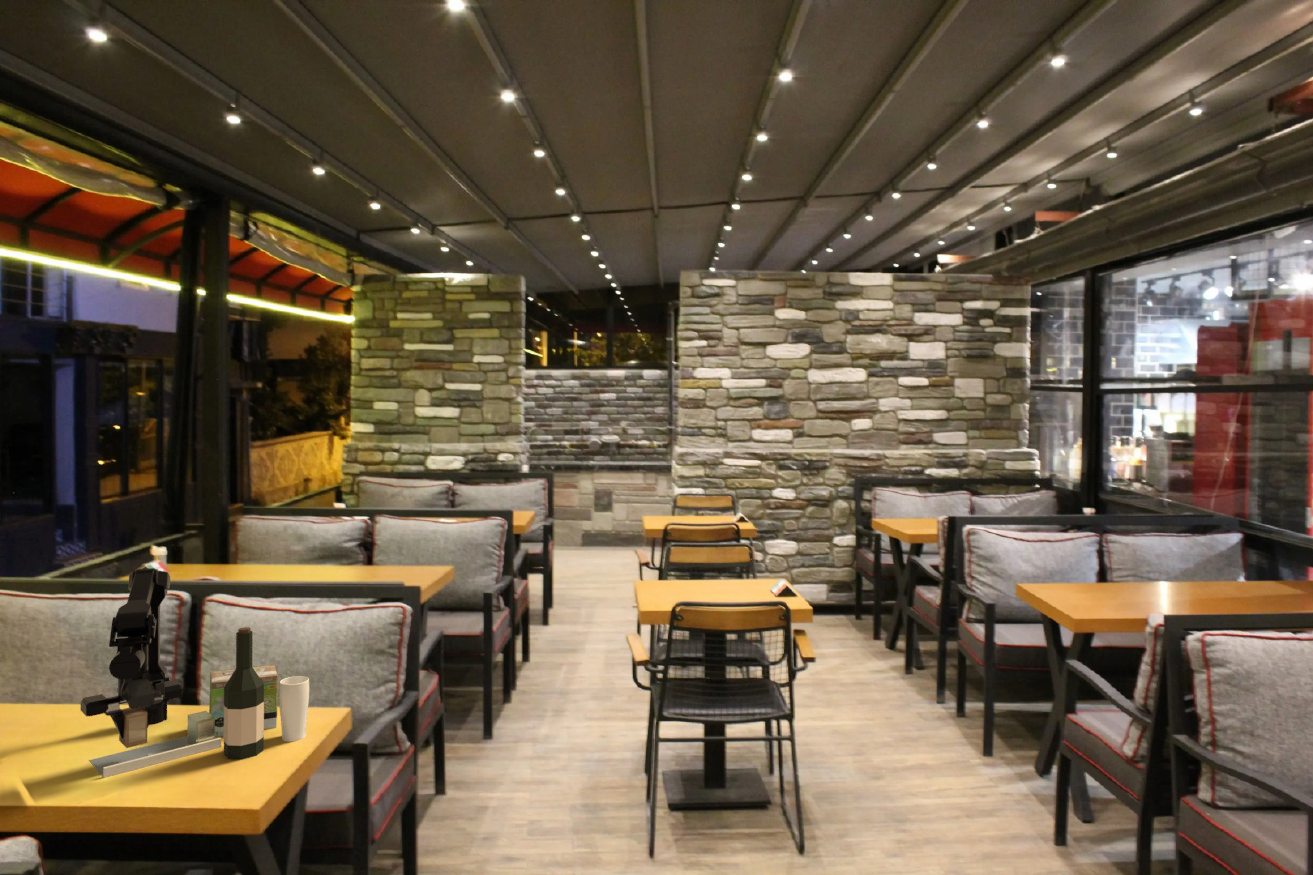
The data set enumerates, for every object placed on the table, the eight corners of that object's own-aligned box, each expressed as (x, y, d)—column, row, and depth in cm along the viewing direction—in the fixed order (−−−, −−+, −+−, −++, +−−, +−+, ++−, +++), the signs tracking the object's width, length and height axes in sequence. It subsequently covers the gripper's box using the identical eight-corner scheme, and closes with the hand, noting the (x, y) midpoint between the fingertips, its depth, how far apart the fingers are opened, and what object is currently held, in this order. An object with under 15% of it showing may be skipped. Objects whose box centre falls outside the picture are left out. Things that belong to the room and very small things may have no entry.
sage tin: (187, 743, 193) (187, 714, 193) (205, 739, 196) (205, 710, 196) (196, 751, 189) (196, 721, 189) (214, 746, 192) (214, 717, 191)
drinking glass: (315, 737, 200) (315, 677, 200) (294, 748, 194) (294, 685, 193) (293, 734, 202) (293, 674, 202) (272, 744, 196) (272, 682, 196)
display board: (202, 735, 200) (202, 723, 200) (221, 750, 191) (221, 738, 191) (89, 764, 183) (89, 751, 183) (104, 782, 174) (104, 768, 174)
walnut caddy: (119, 740, 183) (119, 709, 183) (139, 735, 186) (139, 705, 185) (126, 748, 178) (126, 716, 178) (147, 743, 181) (147, 712, 181)
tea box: (209, 742, 196) (209, 682, 196) (208, 729, 205) (209, 671, 205) (277, 731, 204) (278, 673, 204) (274, 718, 213) (274, 662, 212)
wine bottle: (271, 753, 191) (272, 626, 190) (240, 766, 183) (240, 634, 182) (247, 746, 194) (247, 622, 193) (215, 759, 186) (215, 630, 186)
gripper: (92, 684, 169) (92, 757, 170) (191, 665, 183) (190, 733, 183) (79, 672, 177) (79, 742, 177) (175, 655, 191) (175, 720, 191)
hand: (133, 735), depth 182 cm, fingers closed on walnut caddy, 4 cm apart
